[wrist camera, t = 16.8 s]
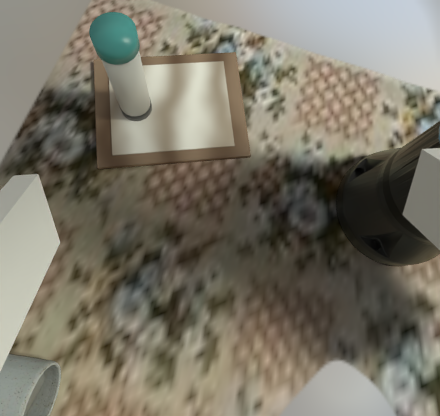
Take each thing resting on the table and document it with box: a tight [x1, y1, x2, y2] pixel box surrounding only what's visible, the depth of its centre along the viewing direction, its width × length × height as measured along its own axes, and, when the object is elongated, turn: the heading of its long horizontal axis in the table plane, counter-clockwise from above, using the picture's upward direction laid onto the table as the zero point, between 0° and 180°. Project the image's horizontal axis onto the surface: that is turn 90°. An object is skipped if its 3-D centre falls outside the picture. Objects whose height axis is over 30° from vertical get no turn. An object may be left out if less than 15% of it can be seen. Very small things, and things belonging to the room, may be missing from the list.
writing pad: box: [94, 52, 251, 169], centre depth 48 cm, size 20×16×1 cm
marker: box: [89, 12, 152, 121], centre depth 40 cm, size 4×4×14 cm
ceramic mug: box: [0, 354, 61, 416], centre depth 35 cm, size 11×8×8 cm
